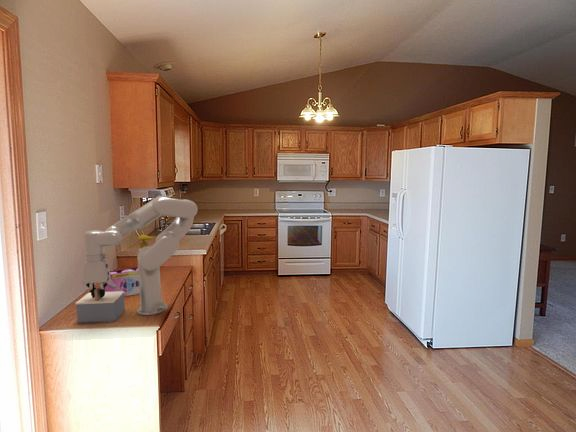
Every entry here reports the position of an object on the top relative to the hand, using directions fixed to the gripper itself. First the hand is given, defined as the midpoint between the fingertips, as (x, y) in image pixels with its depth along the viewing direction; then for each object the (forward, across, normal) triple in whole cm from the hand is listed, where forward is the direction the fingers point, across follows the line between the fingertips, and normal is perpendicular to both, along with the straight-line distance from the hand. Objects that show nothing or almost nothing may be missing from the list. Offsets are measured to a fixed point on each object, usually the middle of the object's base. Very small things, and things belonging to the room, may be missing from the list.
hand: (98, 296), depth 170 cm
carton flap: (+2, 0, -3) cm, 3 cm away
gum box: (+11, -1, -35) cm, 37 cm away
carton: (+11, 0, -3) cm, 11 cm away
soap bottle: (+11, -6, -58) cm, 60 cm away
